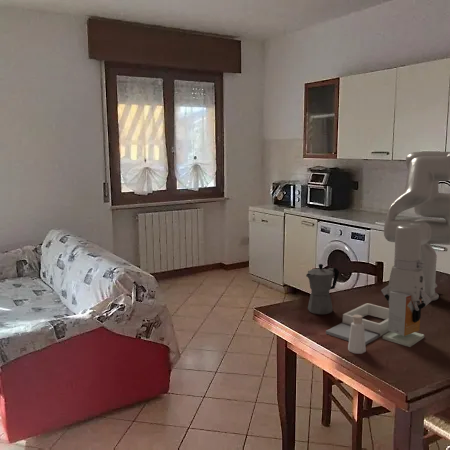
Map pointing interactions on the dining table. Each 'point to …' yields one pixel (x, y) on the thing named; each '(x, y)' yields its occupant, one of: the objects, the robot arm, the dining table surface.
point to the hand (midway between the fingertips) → (404, 317)
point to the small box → (401, 314)
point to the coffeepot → (321, 289)
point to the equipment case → (370, 327)
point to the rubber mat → (404, 338)
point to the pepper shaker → (357, 336)
